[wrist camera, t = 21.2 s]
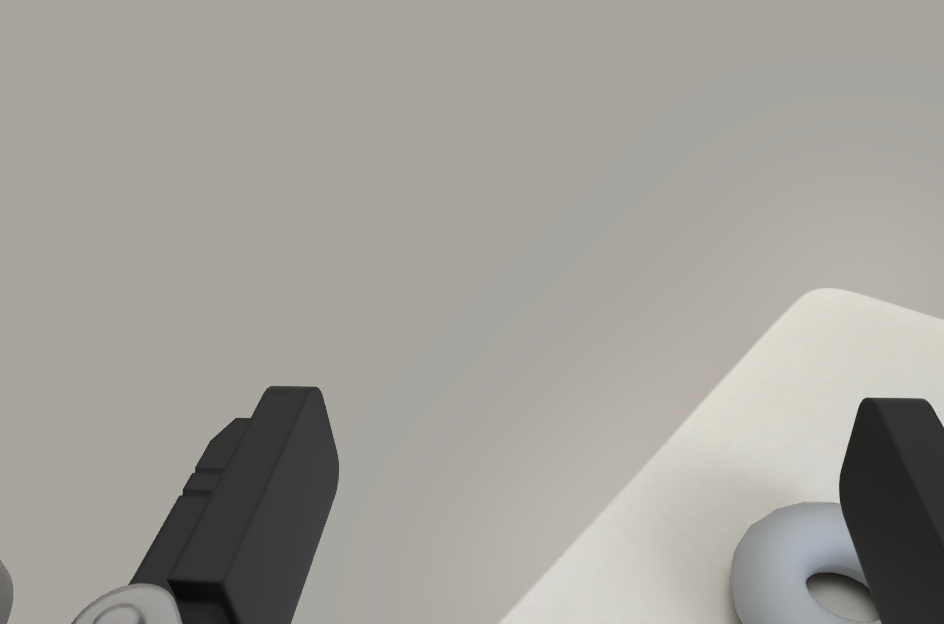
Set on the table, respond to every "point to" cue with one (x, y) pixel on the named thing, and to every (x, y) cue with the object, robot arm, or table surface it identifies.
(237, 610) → the robot arm
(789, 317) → the table surface
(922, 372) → the table surface
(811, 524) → the donut
